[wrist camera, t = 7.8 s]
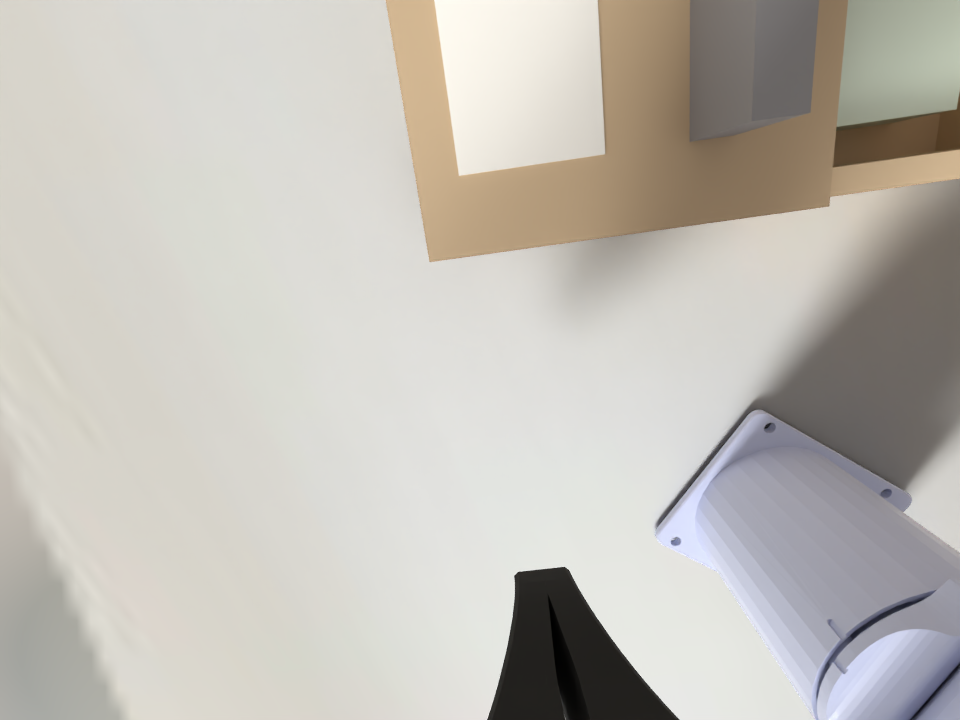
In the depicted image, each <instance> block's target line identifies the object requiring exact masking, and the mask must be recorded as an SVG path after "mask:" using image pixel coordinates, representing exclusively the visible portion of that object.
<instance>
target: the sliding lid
mask: <svg viewBox="0 0 960 720" xmlns="http://www.w3.org/2000/svg"><path fill="white" fill-rule="evenodd" d="M386 5H387V11H388V17H389V22H390V28H391V34H392V40H393V46H394V52H395V58H396V64H397V70H398V76H399V82H400V88H401V94H402V100H403V106H404V112H405V118H406V124H407V130H408V136H409V142H410V148H411V154H412V160H413V166H414V172H415V178H416V184H417V190H418V196H419V202H420V208H421V214H422V220H423V225H424V231H425V237H426V243H427V249H428V255H429V261H430V262H434V261H441V260H448V259H455V258H462V257H470V256H477V255H484V254H491V253H498V252H505V251H513V250H520V249H527V248H534V247H541V246H548V245H556V244H563V243H570V242H577V241H584V240H591V239H599V238H606V237H613V236H620V235H627V234H634V233H642V232H649V231H656V230H663V229H670V228H677V227H684V226H692V225H699V224H706V223H713V222H720V221H727V220H735V219H742V218H749V217H756V216H763V215H770V214H778V213H785V212H792V211H799V210H806V209H813V208H821V207H828V206H829V203H830V193H831V182H832V171H833V160H834V149H835V138H836V127H837V116H838V105H839V95H840V84H841V73H842V62H843V51H844V40H845V29H846V18H847V7H848V0H386Z"/></svg>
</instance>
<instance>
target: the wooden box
mask: <svg viewBox="0 0 960 720" xmlns="http://www.w3.org/2000/svg"><path fill="white" fill-rule="evenodd" d="M953 179H960V0H848V7H847V18H846V29H845V40H844V51H843V62H842V73H841V84H840V95H839V105H838V116H837V127H836V138H835V149H834V160H833V171H832V182H831V193H830V197H832V196H839V195H846V194H853V193H860V192H867V191H875V190H882V189H889V188H896V187H903V186H910V185H917V184H924V183H932V182H939V181H946V180H953Z"/></svg>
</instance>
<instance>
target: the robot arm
mask: <svg viewBox="0 0 960 720" xmlns="http://www.w3.org/2000/svg"><path fill="white" fill-rule="evenodd" d="M768 423H771V425H770V427H768V428H767V429H764V427H765V425H766V424H768ZM883 490H884V491H883ZM882 491H883V492H882ZM911 502H912V498H911V496H910V495H909V494H908V493H907V492H905V491H904V490H902V489H900V488H898V487H897V486H895V485H893V484H891V483H890V482H888V481H886V480H884V479H883V478H881V477H879V476H877V475H876V474H874V473H872V472H870V471H869V470H867V469H865V468H863V467H862V466H860V465H858V464H856V463H855V462H853V461H851V460H849V459H848V458H846V457H844V456H842V455H841V454H839V453H837V452H835V451H834V450H832V449H830V448H828V447H827V446H825V445H823V444H821V443H820V442H818V441H816V440H814V439H813V438H811V437H809V436H807V435H806V434H804V433H802V432H800V431H799V430H797V429H795V428H793V427H792V426H790V425H788V424H786V423H785V422H783V421H781V420H779V419H778V418H776V417H774V416H772V415H771V414H769V413H767V412H765V411H763V410H754V411H752V412H751V413H750V414H748V416H747V417H746V418H745V419H744V421H743V422H742V423H741V424H740V426H739V427H738V428H737V429H736V431H735V432H734V433H733V434H732V435H731V437H730V438H729V439H728V440H727V442H726V443H725V444H724V445H723V447H722V448H721V449H720V450H719V452H718V453H717V454H716V455H715V457H714V458H713V459H712V460H711V462H710V463H709V464H708V465H707V467H706V468H705V469H704V470H703V472H702V473H701V474H700V475H699V477H698V478H697V479H696V480H695V481H694V483H693V484H692V485H691V486H690V488H689V489H688V490H687V491H686V493H685V494H684V495H683V496H682V498H681V499H680V500H679V501H678V503H677V504H676V505H675V506H674V508H673V509H672V510H671V511H670V513H669V514H668V515H667V516H666V518H665V519H664V520H663V521H662V523H661V524H660V525H659V526H658V527H657V529H656V531H655V536H656V538H657V540H658V542H659V543H660V544H662V545H664V546H666V547H668V548H670V549H672V550H674V551H676V552H678V553H680V554H682V555H684V556H686V557H688V558H690V559H692V560H694V561H696V562H698V563H700V564H702V565H705V566H707V567H709V568H711V569H713V570H715V571H717V572H718V573H719V575H720V576H721V578H722V579H723V581H724V582H725V584H726V585H727V587H728V588H729V590H730V591H731V593H732V594H733V596H734V597H735V599H736V600H737V602H738V603H739V605H740V607H741V608H742V610H743V611H744V613H745V614H746V616H747V617H748V619H749V620H750V622H751V623H752V625H753V626H754V628H755V629H756V631H757V632H758V634H759V635H760V637H761V638H762V640H763V641H764V643H765V645H766V646H767V648H768V649H769V651H770V652H771V654H772V655H773V657H774V658H775V660H776V661H777V663H778V664H779V666H780V667H781V669H782V670H783V672H784V673H785V675H786V676H787V678H788V679H789V681H790V683H791V684H792V686H793V687H794V689H795V690H796V692H797V693H798V695H799V696H800V698H801V699H802V701H803V702H804V704H805V705H806V707H807V708H808V710H809V711H810V713H811V714H812V716H813V717H814V719H815V720H960V553H959V552H958V551H957V550H955V549H954V548H952V547H951V546H950V545H948V544H947V543H945V542H944V541H942V540H941V539H940V538H938V537H937V536H935V535H934V534H933V533H931V532H930V531H928V530H927V529H926V528H924V527H923V526H921V525H920V524H919V523H917V522H916V521H914V520H913V519H912V518H910V517H909V516H907V515H906V514H905V513H903V512H904V511H905V510H906V509H907V508H908V507H909V506H910V504H911ZM674 537H678V538H677V539H676V540H671V539H673V538H674ZM514 577H515V601H514V610H513V618H512V624H511V630H510V636H509V641H508V646H507V651H506V655H505V659H504V663H503V667H502V672H501V676H500V680H499V683H498V687H497V690H496V694H495V697H494V701H493V704H492V707H491V710H490V713H489V716H488V719H487V720H565V718H566V720H679V719H678V718H677V717H676V716H675V715H674V714H673V712H672V711H671V710H670V709H669V708H668V707H667V706H666V705H665V704H664V703H663V702H662V700H661V699H660V698H659V697H658V696H657V695H656V694H655V693H654V691H653V690H652V689H651V688H650V687H649V686H648V685H647V683H646V682H645V681H644V680H643V679H642V677H641V676H640V675H639V674H638V673H637V671H636V670H635V669H634V668H633V666H632V665H631V664H630V662H629V661H628V660H627V659H626V657H625V656H624V655H623V654H622V652H621V651H620V650H619V648H618V647H617V646H616V644H615V643H614V642H613V640H612V639H611V637H610V636H609V635H608V633H607V632H606V630H605V629H604V627H603V626H602V625H601V623H600V622H599V620H598V619H597V617H596V616H595V614H594V613H593V611H592V610H591V608H590V607H589V605H588V603H587V602H586V600H585V599H584V597H583V595H582V594H581V592H580V590H579V589H578V587H577V585H576V583H575V581H574V579H573V577H572V575H571V573H570V571H569V570H568V569H567V568H565V567H560V568H551V569H542V570H532V571H523V572H518V573H517V574H516V575H515V576H514Z"/></svg>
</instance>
